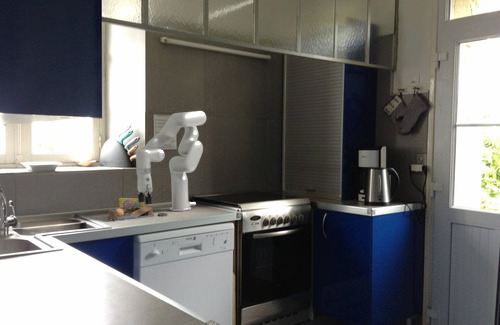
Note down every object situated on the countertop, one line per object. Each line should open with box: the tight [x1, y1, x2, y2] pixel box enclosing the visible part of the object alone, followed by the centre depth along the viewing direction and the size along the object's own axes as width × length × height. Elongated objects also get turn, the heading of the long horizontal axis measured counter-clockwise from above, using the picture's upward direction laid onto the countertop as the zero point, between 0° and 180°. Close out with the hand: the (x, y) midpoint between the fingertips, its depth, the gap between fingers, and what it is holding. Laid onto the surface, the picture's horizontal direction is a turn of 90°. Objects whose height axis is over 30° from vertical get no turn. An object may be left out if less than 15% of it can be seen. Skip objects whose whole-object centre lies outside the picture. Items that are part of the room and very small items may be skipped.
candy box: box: [118, 197, 146, 213], centre depth 270 cm, size 16×2×8 cm, turn 71°
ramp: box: [107, 204, 154, 221], centre depth 251 cm, size 22×9×5 cm, turn 126°
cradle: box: [157, 212, 168, 217], centre depth 256 cm, size 3×5×1 cm, turn 36°
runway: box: [108, 212, 155, 222], centre depth 252 cm, size 22×9×2 cm, turn 126°
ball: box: [115, 208, 125, 217], centre depth 248 cm, size 5×5×5 cm
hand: (144, 202), depth 256 cm, fingers open, 9 cm apart
